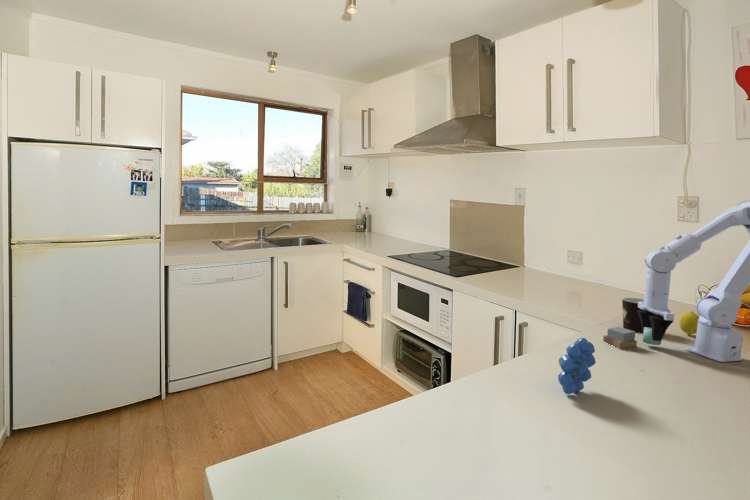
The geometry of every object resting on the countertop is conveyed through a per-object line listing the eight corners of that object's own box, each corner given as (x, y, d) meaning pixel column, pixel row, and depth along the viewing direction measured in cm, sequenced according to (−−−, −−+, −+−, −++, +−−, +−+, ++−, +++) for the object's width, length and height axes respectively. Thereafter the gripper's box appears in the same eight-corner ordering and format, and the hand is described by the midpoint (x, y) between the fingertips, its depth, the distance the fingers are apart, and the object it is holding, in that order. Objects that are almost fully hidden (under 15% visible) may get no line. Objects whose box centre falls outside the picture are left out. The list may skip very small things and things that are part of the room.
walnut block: (636, 349, 117) (636, 341, 117) (619, 350, 116) (619, 342, 115) (619, 342, 123) (620, 334, 122) (602, 343, 121) (603, 335, 121)
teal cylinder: (664, 344, 116) (665, 331, 116) (652, 345, 115) (653, 331, 115) (650, 339, 120) (652, 326, 120) (639, 340, 119) (640, 327, 119)
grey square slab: (634, 339, 118) (635, 331, 117) (623, 341, 116) (623, 333, 115) (618, 334, 122) (619, 326, 122) (607, 336, 120) (607, 328, 120)
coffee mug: (649, 335, 129) (652, 305, 128) (618, 329, 134) (620, 300, 133) (650, 327, 138) (654, 299, 137) (621, 322, 143) (624, 295, 142)
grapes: (571, 378, 94) (575, 329, 93) (600, 390, 89) (605, 337, 87) (541, 390, 88) (545, 337, 87) (570, 403, 82) (575, 347, 81)
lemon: (691, 333, 133) (694, 309, 132) (703, 338, 127) (706, 314, 126) (674, 332, 133) (676, 308, 132) (685, 337, 128) (688, 313, 127)
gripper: (629, 286, 124) (625, 329, 125) (656, 297, 109) (651, 345, 111) (653, 287, 123) (649, 330, 124) (684, 298, 109) (678, 346, 110)
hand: (652, 337), depth 118 cm, fingers closed on teal cylinder, 4 cm apart
